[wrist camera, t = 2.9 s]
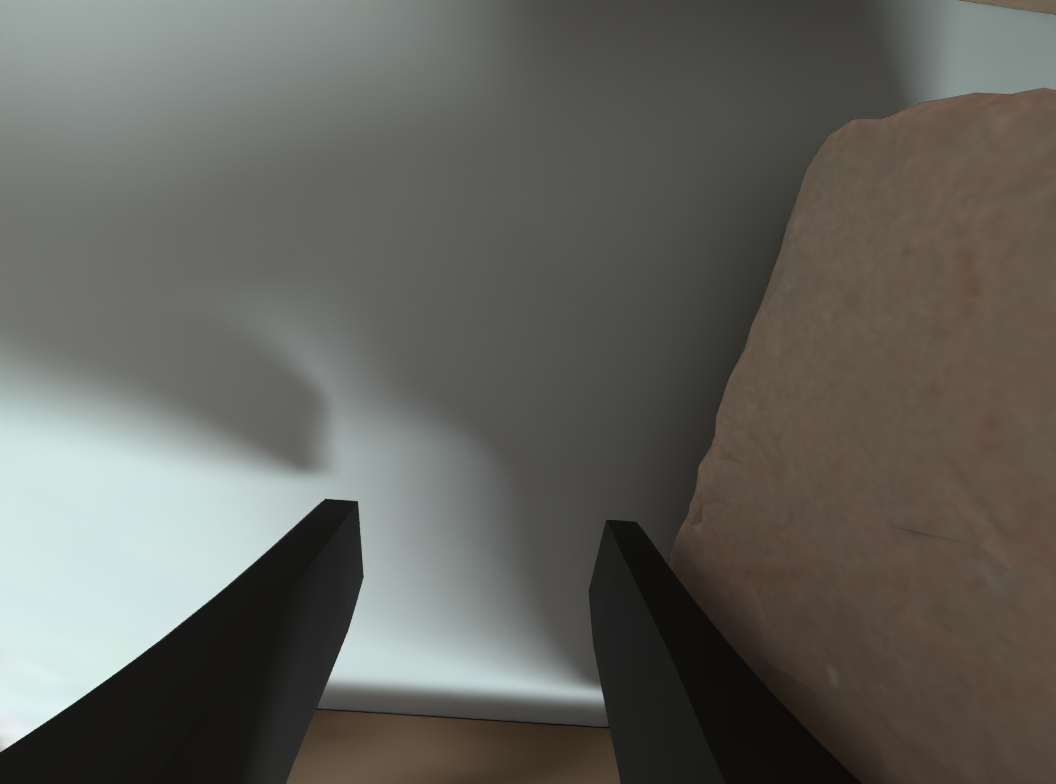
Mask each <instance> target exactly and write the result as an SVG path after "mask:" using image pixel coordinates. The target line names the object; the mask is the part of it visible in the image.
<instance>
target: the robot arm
mask: <svg viewBox="0 0 1056 784" xmlns="http://www.w3.org/2000/svg"><path fill="white" fill-rule="evenodd" d="M363 577H364V576H363V563H362V549H361V536H360V522H359V509H358V501H346V500H333V499H325V500H324V501H322V502H321V503H320V504H319V505H318V506H317V507H315V508H314V509H313V510H312V511H311V512H310V513H309V514H308V515H307V516H305V517H304V518H303V519H302V520H301V521H300V522H299V523H298V524H297V525H296V526H295V527H294V528H292V529H291V530H290V531H289V532H288V533H287V534H286V535H285V536H284V537H283V538H281V539H280V540H279V541H278V542H277V543H276V544H275V545H274V546H273V547H271V548H270V549H269V550H268V551H267V552H266V553H265V554H264V555H263V556H261V557H260V558H259V559H258V560H257V561H256V562H254V563H253V564H252V565H251V566H250V567H249V568H248V569H246V570H245V571H244V572H243V573H242V574H241V575H239V576H238V577H237V578H236V579H235V580H234V581H233V582H231V583H230V584H229V585H228V586H227V587H226V588H224V589H223V590H222V591H221V592H220V593H218V594H217V595H216V596H215V597H214V598H212V599H211V600H210V601H209V602H207V603H206V604H205V605H204V606H202V607H201V608H200V609H199V610H197V611H196V612H195V613H194V614H192V615H191V616H190V617H189V618H187V619H186V620H185V621H184V622H182V623H181V624H180V625H179V626H177V627H176V628H175V629H174V630H172V631H171V632H170V633H169V634H168V635H166V636H165V637H164V638H162V639H161V640H160V641H159V642H157V643H156V644H155V645H153V646H152V647H151V648H149V649H148V650H147V651H145V652H144V653H143V654H141V655H140V656H139V657H137V658H136V659H135V660H133V661H132V662H131V663H129V664H128V665H127V666H125V667H124V668H123V669H121V670H120V671H118V672H117V673H116V674H114V675H113V676H112V677H110V678H109V679H107V680H106V681H105V682H103V683H102V684H100V685H99V686H98V687H96V688H95V689H93V690H92V691H91V692H89V693H88V694H86V695H85V696H84V697H82V698H81V699H79V700H78V701H76V702H75V703H74V704H72V705H71V706H69V707H68V708H66V709H65V710H63V711H62V712H60V713H59V714H57V715H56V716H54V717H53V718H52V719H50V720H49V721H47V722H46V723H44V724H43V725H41V726H40V727H38V728H37V729H35V730H34V731H32V732H31V733H29V734H28V735H26V736H25V737H23V738H22V739H20V740H19V741H17V742H16V743H14V744H12V745H11V746H9V747H8V748H6V749H5V750H3V751H2V752H0V784H286V782H287V780H288V777H289V774H290V772H291V769H292V766H293V764H294V761H295V759H296V756H297V754H298V752H299V749H300V747H301V744H302V742H303V739H304V737H305V735H306V732H307V730H308V727H309V725H310V722H311V720H312V718H313V715H314V713H315V710H316V708H317V706H318V703H319V701H320V698H321V696H322V693H323V691H324V689H325V686H326V684H327V681H328V679H329V676H330V674H331V672H332V669H333V667H334V664H335V662H336V659H337V657H338V654H339V652H340V649H341V647H342V644H343V642H344V639H345V637H346V634H347V632H348V629H349V626H350V622H351V619H352V616H353V612H354V609H355V606H356V602H357V599H358V595H359V591H360V588H361V584H362V581H363ZM589 600H590V613H591V624H592V635H593V645H594V650H595V655H596V661H597V666H598V671H599V676H600V681H601V687H602V692H603V697H604V702H605V707H606V712H607V717H608V722H609V727H610V732H611V737H612V742H613V747H614V752H615V757H616V762H617V767H618V772H619V777H620V783H621V784H862V783H861V782H860V781H859V780H858V779H856V778H855V777H854V776H853V775H852V774H851V773H850V772H849V771H848V770H847V769H846V768H845V767H844V766H843V765H842V764H841V763H840V762H839V761H838V760H837V759H836V758H835V757H834V756H833V755H832V754H831V753H830V752H829V751H828V750H827V749H826V748H825V747H824V746H823V745H822V744H821V743H820V742H819V741H818V740H817V739H816V738H815V737H814V736H813V735H812V734H811V733H810V732H809V731H808V730H807V729H806V728H805V727H804V726H803V725H802V724H801V723H800V722H799V721H798V720H797V718H796V717H795V716H794V715H793V714H792V713H791V712H790V711H789V710H788V709H787V708H786V707H785V706H784V705H783V704H782V703H781V702H780V701H779V700H778V699H777V698H776V696H775V695H774V694H773V693H772V692H771V691H770V690H769V689H768V688H767V687H766V685H765V684H764V683H763V682H762V681H761V680H760V679H759V678H758V676H757V675H756V674H755V673H754V672H753V671H752V670H751V668H750V667H749V666H748V665H747V664H746V663H745V661H744V660H743V659H742V658H741V657H740V656H739V654H738V653H737V652H736V651H735V650H734V649H733V647H732V646H731V645H730V644H729V643H728V641H727V640H726V639H725V638H724V637H723V635H722V634H721V633H720V632H719V630H718V629H717V628H716V627H715V626H714V624H713V623H712V622H711V620H710V619H709V618H708V617H707V615H706V614H705V613H704V612H703V610H702V609H701V608H700V606H699V605H698V604H697V603H696V601H695V600H694V599H693V598H692V596H691V595H690V594H689V592H688V591H687V590H686V588H685V587H684V586H683V584H682V583H681V582H680V580H679V579H678V578H677V576H676V575H675V574H674V572H673V571H672V570H671V568H670V567H669V566H668V564H667V563H666V561H665V560H664V559H663V557H662V556H661V555H660V553H659V552H658V550H657V549H656V548H655V546H654V545H653V543H652V542H651V541H650V539H649V538H648V537H647V535H646V534H645V532H644V531H643V530H642V528H641V527H640V526H639V524H638V523H637V522H632V521H619V520H606V523H605V527H604V531H603V535H602V539H601V543H600V547H599V552H598V556H597V560H596V564H595V568H594V572H593V576H592V580H591V584H590V588H589Z"/></svg>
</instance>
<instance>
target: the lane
mask: <svg viewBox="0 0 1056 784" xmlns="http://www.w3.org/2000/svg"><path fill="white" fill-rule="evenodd" d="M961 1H968V2H974V3H981V4H988V5H995V6H1002V7H1009V8H1015V9H1022V10H1029V11H1036V12H1043V13H1049V14H1056V0H961ZM286 784H621V783H620V777H619V772H618V767H617V762H616V757H615V752H614V747H613V742H612V737H611V732H610V729H608V728H593V727H577V726H562V725H547V724H531V723H516V722H500V721H485V720H469V719H454V718H439V717H423V716H408V715H392V714H377V713H362V712H346V711H331V710H315V713H314V715H313V718H312V720H311V722H310V725H309V727H308V730H307V732H306V735H305V737H304V739H303V742H302V744H301V747H300V749H299V752H298V754H297V756H296V759H295V761H294V764H293V766H292V769H291V772H290V774H289V777H288V780H287V782H286Z"/></svg>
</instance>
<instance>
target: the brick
mask: <svg viewBox="0 0 1056 784" xmlns="http://www.w3.org/2000/svg"><path fill="white" fill-rule="evenodd" d="M669 567H670V568H671V570H672V571H673V572H674V574H675V575H676V576H677V578H678V579H679V580H680V582H681V583H682V584H683V586H684V587H685V588H686V590H687V591H688V592H689V594H690V595H691V596H692V598H693V599H694V600H695V601H696V603H697V604H698V605H699V606H700V608H701V609H702V610H703V612H704V613H705V614H706V615H707V617H708V618H709V619H710V620H711V622H712V623H713V624H714V626H715V627H716V628H717V629H718V630H719V632H720V633H721V634H722V635H723V637H724V638H725V639H726V640H727V641H728V643H729V644H730V645H731V646H732V647H733V649H734V650H735V651H736V652H737V653H738V654H739V656H740V657H741V658H742V659H743V660H744V661H745V663H746V664H747V665H748V666H749V667H750V668H751V670H752V671H753V672H754V673H755V674H756V675H757V676H758V678H759V679H760V680H761V681H762V682H763V683H764V684H765V685H766V687H767V688H768V689H769V690H770V691H771V692H772V693H773V694H774V695H775V696H776V698H777V699H778V700H779V701H780V702H781V703H782V704H783V705H784V706H785V707H786V708H787V709H788V710H789V711H790V712H791V713H792V714H793V715H794V716H795V717H796V718H797V720H798V721H799V722H800V723H801V724H802V725H803V726H804V727H805V728H806V729H807V730H808V731H809V732H810V733H811V734H812V735H813V736H814V737H815V738H816V739H817V740H818V741H819V742H820V743H821V744H822V745H823V746H824V747H825V748H826V749H827V750H828V751H829V752H830V753H831V754H832V755H833V756H834V757H835V758H836V759H837V760H838V761H839V762H840V763H841V764H842V765H843V766H844V767H845V768H846V769H847V770H848V771H849V772H850V773H851V774H852V775H853V776H854V777H855V778H856V779H858V780H859V781H860V782H861V783H862V784H1056V90H1052V89H1047V88H1040V89H1035V90H1030V91H1025V92H1020V93H1014V94H994V93H972V94H967V95H961V96H956V97H951V98H945V99H940V100H935V101H930V102H924V103H919V104H917V105H915V106H912V107H910V108H907V109H905V110H902V111H900V112H898V113H895V114H893V115H890V116H888V117H885V118H883V119H853V120H851V121H850V122H849V123H847V124H846V125H844V126H843V127H841V128H840V129H838V130H837V131H835V132H834V133H832V134H830V135H828V136H827V137H826V139H825V141H824V142H823V144H822V145H821V147H820V149H819V150H818V152H817V153H816V155H815V157H814V158H813V160H812V161H811V163H810V165H809V166H808V168H807V170H806V173H805V176H804V179H803V181H802V184H801V187H800V190H799V193H798V196H797V199H796V202H795V205H794V208H793V210H792V213H791V216H790V219H789V222H788V225H787V228H786V231H785V235H784V238H783V242H782V246H781V250H780V253H779V256H778V258H777V261H776V264H775V267H774V269H773V272H772V275H771V278H770V281H769V283H768V286H767V289H766V292H765V295H764V298H763V300H762V303H761V305H760V307H759V310H758V312H757V314H756V317H755V319H754V321H753V323H752V326H751V329H750V332H749V336H748V339H747V342H746V346H745V348H744V350H743V352H742V354H741V356H740V358H739V360H738V362H737V364H736V366H735V368H734V370H733V372H732V373H731V375H730V377H729V380H728V383H727V386H726V389H725V392H724V395H723V398H722V401H721V404H720V407H719V410H718V413H717V416H716V427H715V436H714V439H713V442H712V444H711V447H710V449H709V451H708V452H707V454H706V455H705V457H704V459H703V460H702V462H701V463H700V465H699V468H698V476H697V484H696V490H695V493H694V495H693V498H692V500H691V503H690V505H689V513H688V515H687V517H686V519H685V521H684V522H683V524H682V526H681V528H680V530H679V532H678V534H677V537H676V539H675V541H674V544H673V546H672V548H671V552H670V559H669Z"/></svg>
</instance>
